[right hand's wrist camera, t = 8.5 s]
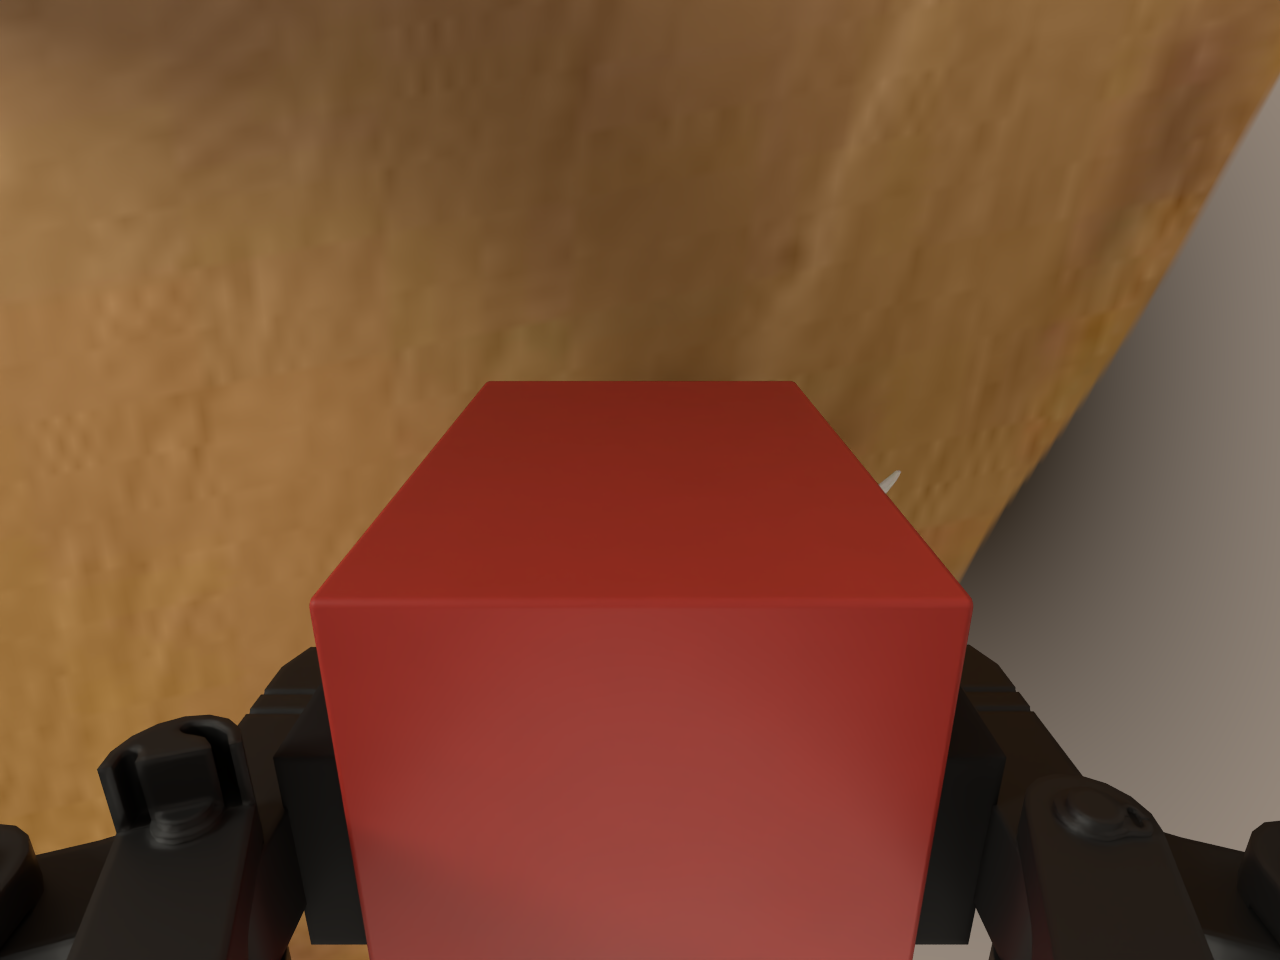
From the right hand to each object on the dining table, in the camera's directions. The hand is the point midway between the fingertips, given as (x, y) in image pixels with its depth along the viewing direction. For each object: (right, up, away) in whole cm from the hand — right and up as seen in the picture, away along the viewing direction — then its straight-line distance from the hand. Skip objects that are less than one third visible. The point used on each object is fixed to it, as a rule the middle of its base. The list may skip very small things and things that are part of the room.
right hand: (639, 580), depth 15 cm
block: (0, +1, +2) cm, 2 cm away
